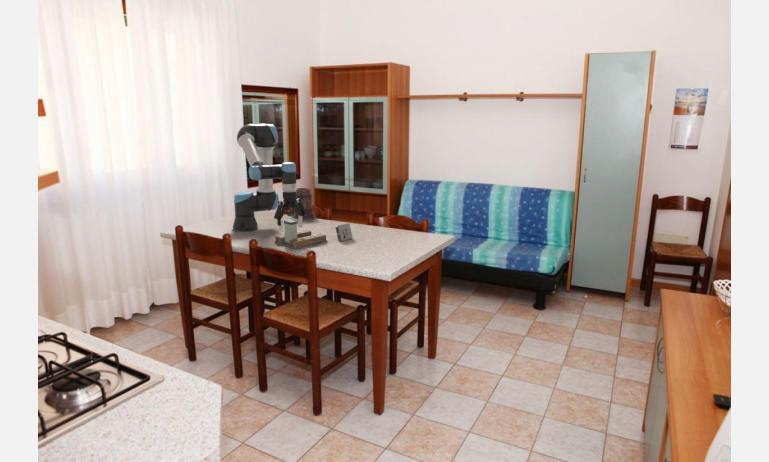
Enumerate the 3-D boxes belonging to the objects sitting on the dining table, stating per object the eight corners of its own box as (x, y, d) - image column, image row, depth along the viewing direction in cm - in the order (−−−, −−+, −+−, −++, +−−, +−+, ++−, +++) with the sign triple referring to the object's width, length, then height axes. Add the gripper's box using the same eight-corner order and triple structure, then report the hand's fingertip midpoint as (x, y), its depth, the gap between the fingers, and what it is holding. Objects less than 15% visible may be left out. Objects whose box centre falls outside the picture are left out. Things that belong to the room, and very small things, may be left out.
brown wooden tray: (274, 242, 279) (274, 235, 278) (304, 235, 295) (304, 229, 294) (296, 249, 266) (296, 241, 265) (327, 242, 282) (327, 234, 281)
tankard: (304, 213, 359) (303, 186, 354) (320, 216, 349) (320, 188, 345) (279, 218, 341) (278, 190, 336) (296, 222, 331) (295, 192, 326)
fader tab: (284, 242, 276) (283, 220, 273) (290, 240, 279) (290, 219, 276) (291, 244, 272) (290, 222, 269) (297, 242, 275) (297, 221, 272)
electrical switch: (341, 241, 284) (340, 225, 282) (335, 240, 287) (334, 225, 285) (352, 238, 291) (351, 223, 289) (346, 238, 294) (345, 222, 292)
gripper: (274, 194, 257) (276, 234, 262) (311, 189, 275) (312, 226, 280) (266, 192, 262) (268, 231, 266) (303, 188, 280) (304, 224, 285)
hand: (290, 229), depth 273 cm, fingers open, 13 cm apart
